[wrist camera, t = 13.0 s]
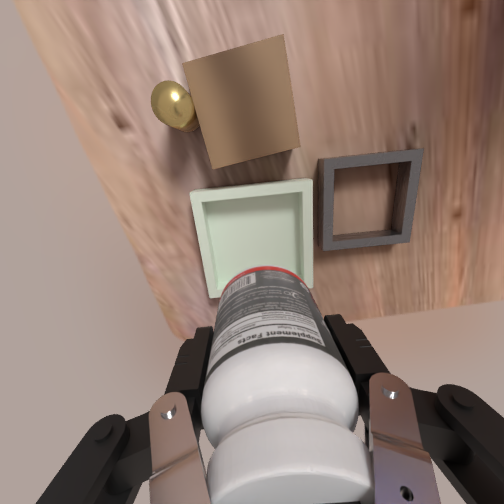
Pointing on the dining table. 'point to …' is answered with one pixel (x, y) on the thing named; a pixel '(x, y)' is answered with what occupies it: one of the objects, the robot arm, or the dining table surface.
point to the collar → (402, 204)
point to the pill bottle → (280, 399)
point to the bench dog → (174, 106)
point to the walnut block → (244, 102)
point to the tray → (254, 229)
